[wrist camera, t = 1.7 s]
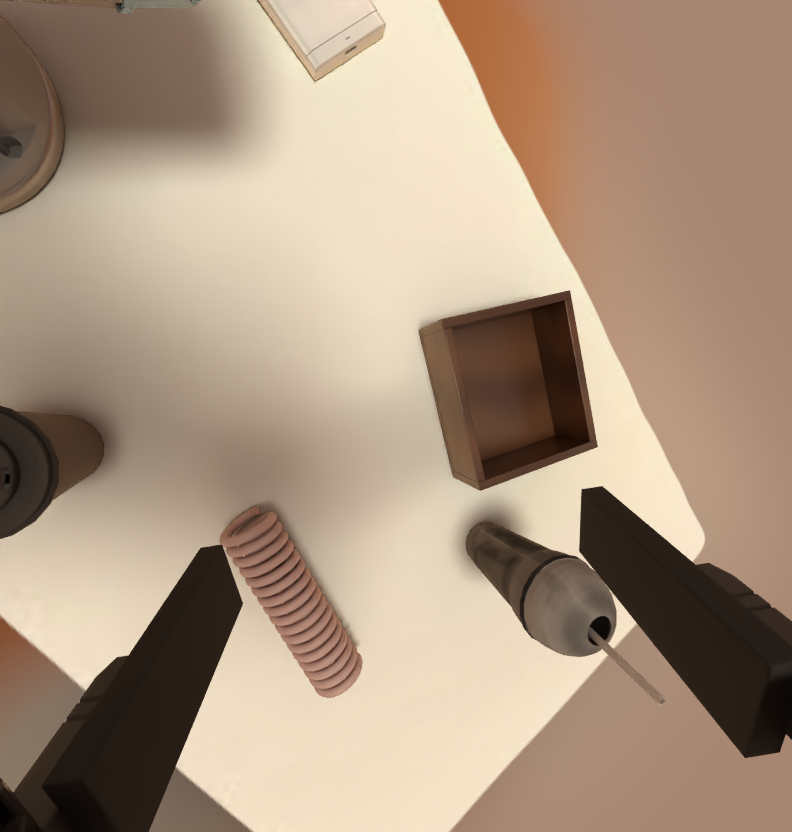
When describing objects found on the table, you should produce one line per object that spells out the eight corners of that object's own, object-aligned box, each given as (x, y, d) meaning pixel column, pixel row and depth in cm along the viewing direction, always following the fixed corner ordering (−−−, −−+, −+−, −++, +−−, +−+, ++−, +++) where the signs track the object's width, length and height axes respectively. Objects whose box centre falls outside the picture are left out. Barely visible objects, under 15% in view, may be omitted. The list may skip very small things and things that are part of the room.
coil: (371, 678, 32) (270, 509, 29) (325, 717, 31) (213, 544, 27) (357, 646, 37) (267, 496, 33) (316, 679, 35) (218, 526, 32)
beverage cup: (517, 510, 41) (719, 615, 22) (508, 574, 41) (701, 733, 22) (458, 508, 39) (625, 623, 20) (450, 575, 39) (606, 753, 20)
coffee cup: (144, 470, 30) (77, 507, 21) (36, 518, 28) (-92, 583, 19) (91, 380, 29) (-8, 375, 19) (-26, 425, 27) (-200, 443, 17)
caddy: (418, 330, 36) (441, 319, 31) (532, 304, 40) (570, 290, 34) (453, 477, 38) (480, 491, 33) (558, 440, 42) (598, 447, 36)
